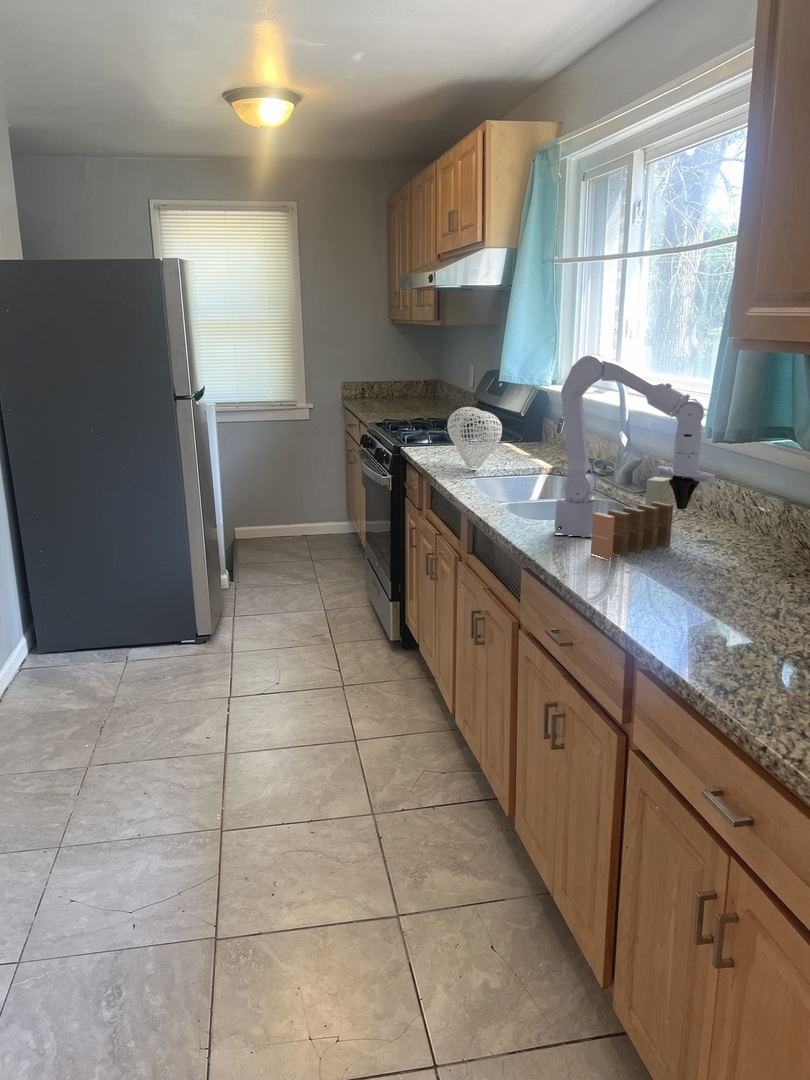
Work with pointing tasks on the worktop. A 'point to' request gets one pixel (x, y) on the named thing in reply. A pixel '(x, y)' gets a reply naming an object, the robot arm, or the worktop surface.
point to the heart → (458, 438)
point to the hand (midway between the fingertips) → (681, 508)
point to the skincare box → (657, 490)
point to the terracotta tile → (602, 535)
